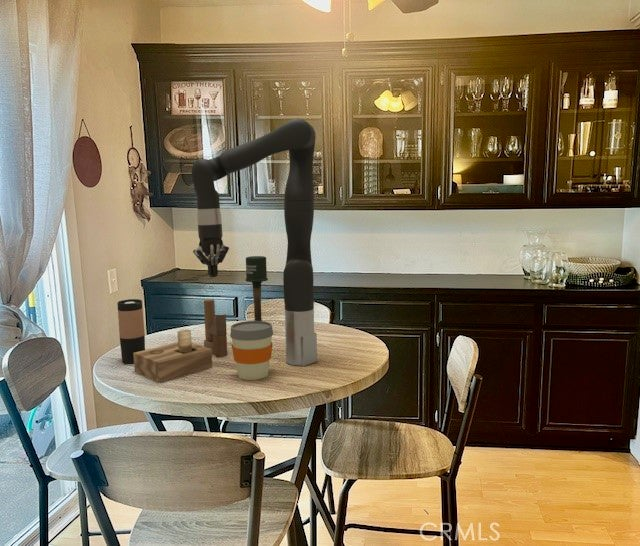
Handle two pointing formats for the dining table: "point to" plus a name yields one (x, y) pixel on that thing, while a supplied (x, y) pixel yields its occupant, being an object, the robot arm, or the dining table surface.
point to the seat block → (171, 362)
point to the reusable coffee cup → (252, 348)
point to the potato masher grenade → (256, 280)
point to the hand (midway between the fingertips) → (213, 276)
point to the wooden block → (215, 330)
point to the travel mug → (131, 328)
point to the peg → (184, 341)
